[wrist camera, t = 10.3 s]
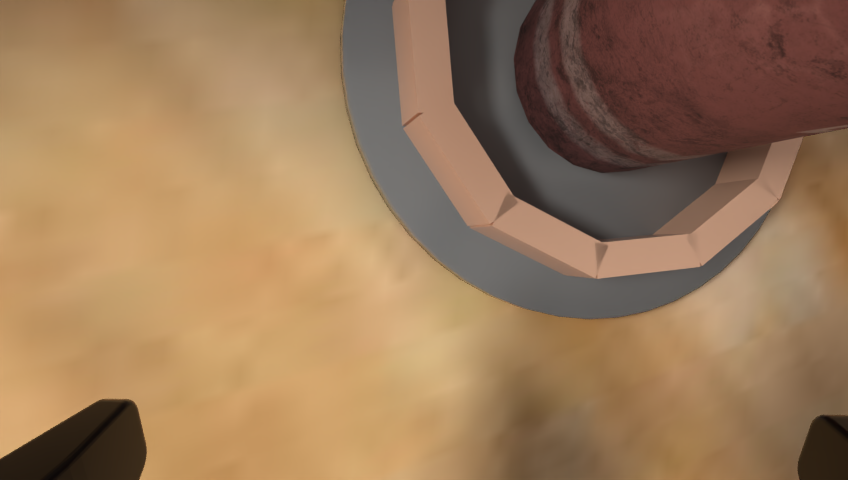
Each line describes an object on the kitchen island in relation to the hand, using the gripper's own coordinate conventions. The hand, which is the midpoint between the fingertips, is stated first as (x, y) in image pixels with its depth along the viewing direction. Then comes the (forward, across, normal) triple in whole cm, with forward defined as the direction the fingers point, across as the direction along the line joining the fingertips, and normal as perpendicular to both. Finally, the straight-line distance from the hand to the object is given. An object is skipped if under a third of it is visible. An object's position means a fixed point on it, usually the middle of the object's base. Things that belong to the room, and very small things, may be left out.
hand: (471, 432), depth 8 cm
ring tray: (+14, -4, -3) cm, 15 cm away
